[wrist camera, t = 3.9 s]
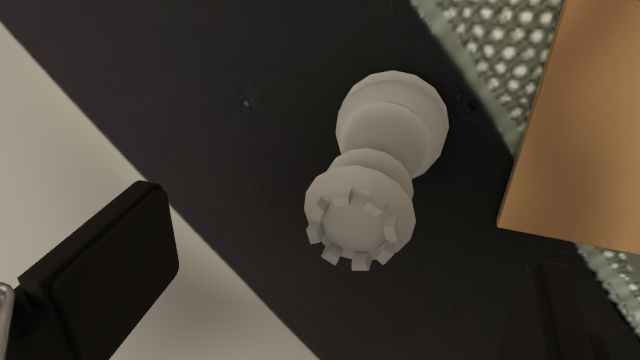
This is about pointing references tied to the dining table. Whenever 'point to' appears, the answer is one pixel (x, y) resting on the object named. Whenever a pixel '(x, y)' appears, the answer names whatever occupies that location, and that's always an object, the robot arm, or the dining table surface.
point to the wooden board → (583, 133)
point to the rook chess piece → (376, 168)
